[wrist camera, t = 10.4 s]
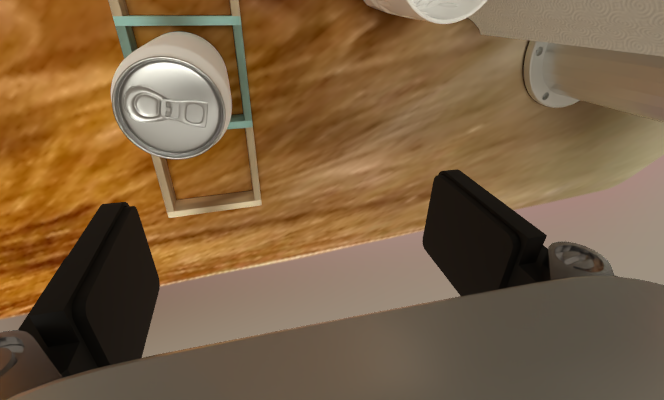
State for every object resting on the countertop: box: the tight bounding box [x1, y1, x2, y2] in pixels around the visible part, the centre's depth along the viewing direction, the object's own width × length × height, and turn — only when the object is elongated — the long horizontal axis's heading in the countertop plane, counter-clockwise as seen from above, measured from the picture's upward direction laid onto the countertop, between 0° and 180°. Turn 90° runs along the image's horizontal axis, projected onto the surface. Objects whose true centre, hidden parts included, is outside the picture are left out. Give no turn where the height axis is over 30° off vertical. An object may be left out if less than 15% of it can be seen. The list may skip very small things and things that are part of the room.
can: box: [111, 31, 232, 159], centre depth 23 cm, size 6×6×12 cm
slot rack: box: [108, 0, 262, 218], centre depth 28 cm, size 9×25×2 cm, turn 0°
